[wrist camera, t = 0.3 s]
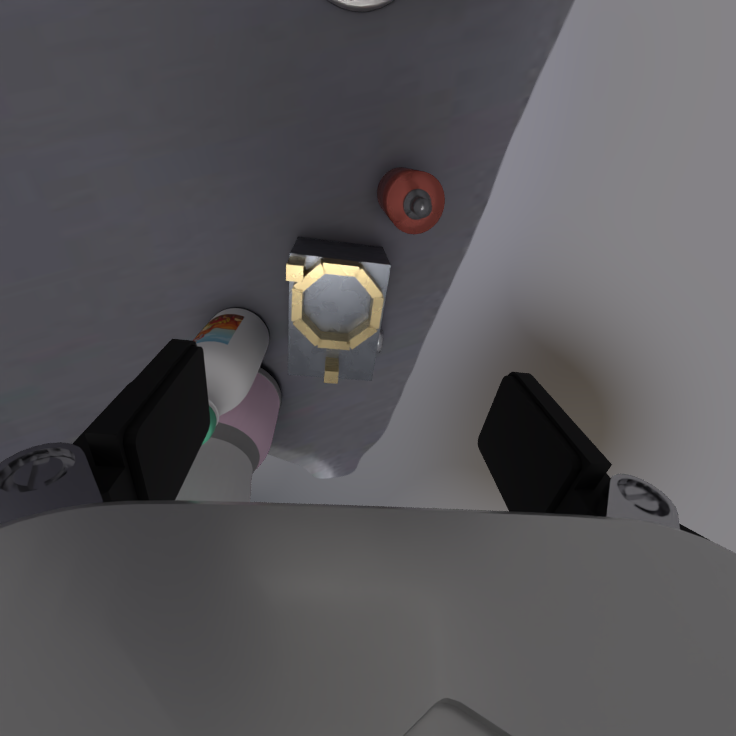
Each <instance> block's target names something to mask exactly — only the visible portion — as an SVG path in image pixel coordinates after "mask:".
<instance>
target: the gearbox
mask: <svg viewBox="0 0 736 736" xmlns="http://www.w3.org/2000/svg"><path fill="white" fill-rule="evenodd" d="M390 268H391V264H390V262H389V260H388V258H387V256H386V254H385V252H384V249H383V247H376V246H368V245H360V244H352V243H344V242H336V241H328V240H320V239H312V238H303V237H298V238H297V240H296V242H295V244H294V246H293V248H292V250H291V252H290V258H289V260H288V262H287V264H286V281H289V332H288V375H300V376H314V377H324V383H336V384H338V378H341V379H355V380H369V381H372V376H373V370H374V364H375V358H376V352H379V353H380V352H381V349H382V343H383V330H382V329H380V328H381V322H382V316H383V310H384V304H385V298H386V292H387V286H388V280H389V274H390Z"/></svg>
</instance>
